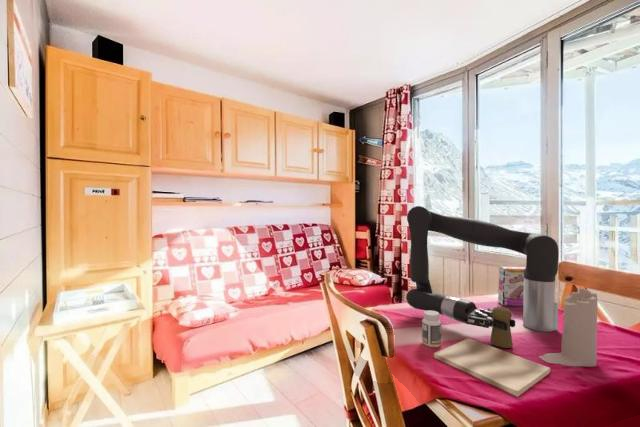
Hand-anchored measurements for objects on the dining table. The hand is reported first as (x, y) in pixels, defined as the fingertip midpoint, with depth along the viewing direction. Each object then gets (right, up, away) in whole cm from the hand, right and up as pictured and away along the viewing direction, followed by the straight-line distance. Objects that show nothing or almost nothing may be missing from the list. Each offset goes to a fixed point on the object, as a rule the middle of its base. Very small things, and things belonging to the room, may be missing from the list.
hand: (510, 325), depth 93 cm
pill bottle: (-23, -8, +4) cm, 24 cm away
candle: (+12, -8, -6) cm, 15 cm away
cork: (-1, -7, +3) cm, 7 cm away
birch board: (-11, -8, -9) cm, 16 cm away
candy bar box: (+27, -6, +42) cm, 50 cm away
